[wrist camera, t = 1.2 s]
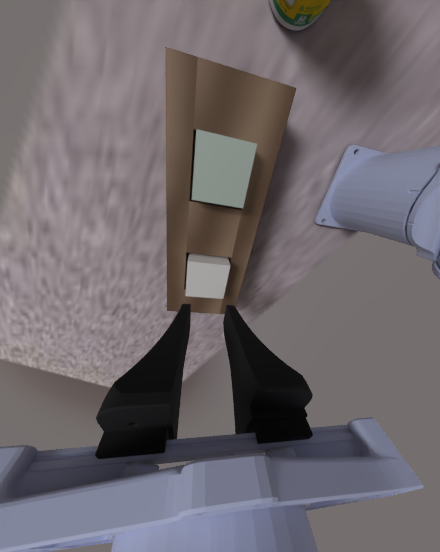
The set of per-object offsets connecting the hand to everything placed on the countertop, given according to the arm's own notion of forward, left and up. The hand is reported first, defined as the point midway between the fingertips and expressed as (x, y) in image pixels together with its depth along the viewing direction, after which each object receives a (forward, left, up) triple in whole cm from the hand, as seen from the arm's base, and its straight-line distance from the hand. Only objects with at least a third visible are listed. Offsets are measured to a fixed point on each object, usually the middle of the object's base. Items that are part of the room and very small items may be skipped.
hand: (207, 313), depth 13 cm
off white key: (0, 0, -8) cm, 8 cm away
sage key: (0, -10, -8) cm, 13 cm away
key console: (0, -5, -10) cm, 12 cm away
